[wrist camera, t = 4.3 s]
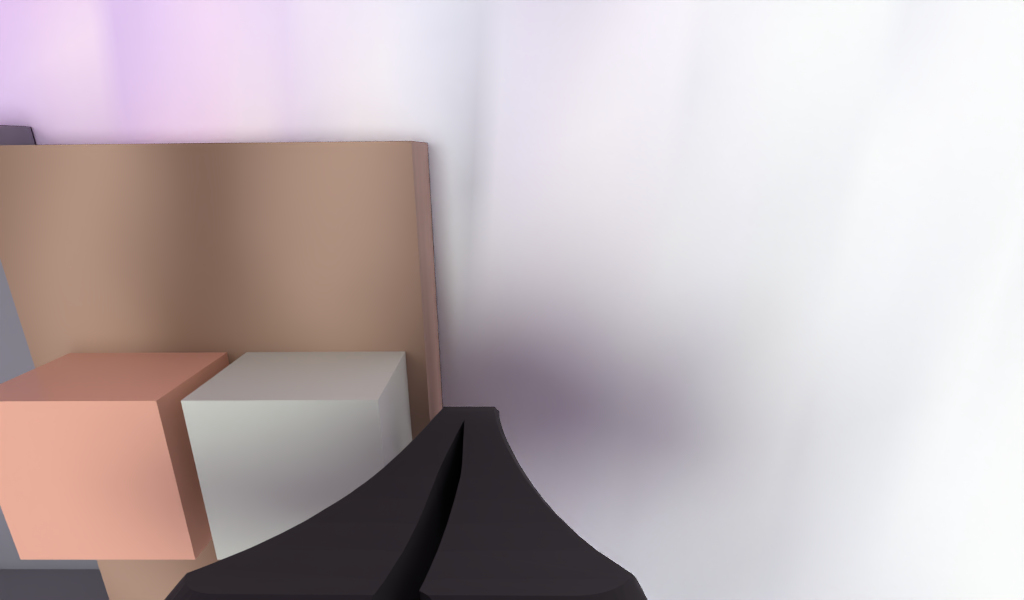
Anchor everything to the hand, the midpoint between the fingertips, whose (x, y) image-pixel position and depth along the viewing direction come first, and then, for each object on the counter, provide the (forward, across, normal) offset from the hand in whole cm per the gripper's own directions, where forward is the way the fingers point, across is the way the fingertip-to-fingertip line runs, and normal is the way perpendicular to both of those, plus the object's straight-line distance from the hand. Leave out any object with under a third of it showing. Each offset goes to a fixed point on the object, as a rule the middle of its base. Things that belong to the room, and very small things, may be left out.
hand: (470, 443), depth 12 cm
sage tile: (+1, +4, 0) cm, 4 cm away
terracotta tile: (+1, +8, 0) cm, 8 cm away
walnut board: (+3, +6, 0) cm, 7 cm away
